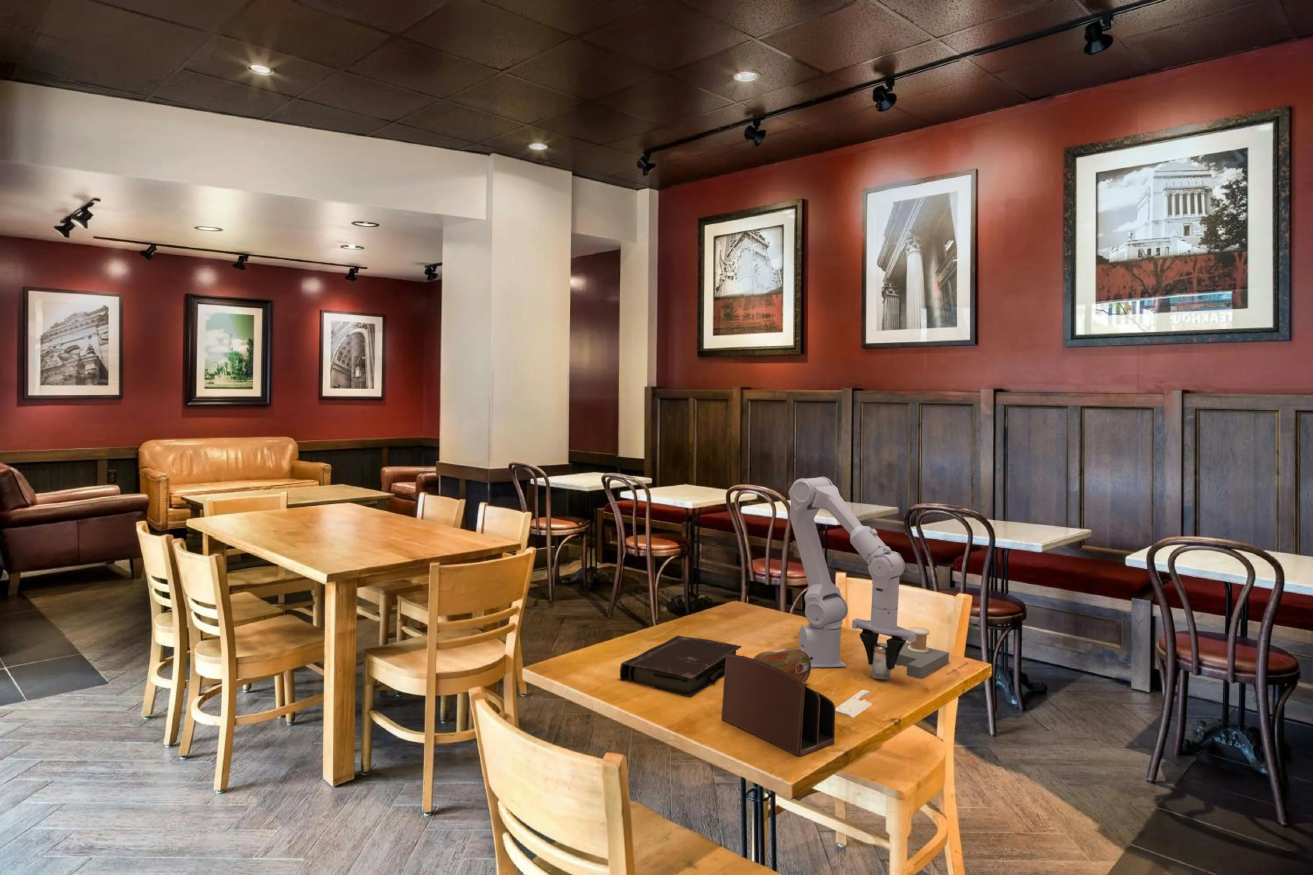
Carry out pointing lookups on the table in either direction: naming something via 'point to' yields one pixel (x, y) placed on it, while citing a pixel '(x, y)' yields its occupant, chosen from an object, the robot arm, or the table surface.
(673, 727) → the table surface
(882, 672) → the peg
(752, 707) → the letter holder
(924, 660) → the notched board
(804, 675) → the tin
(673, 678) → the diary
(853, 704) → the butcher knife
